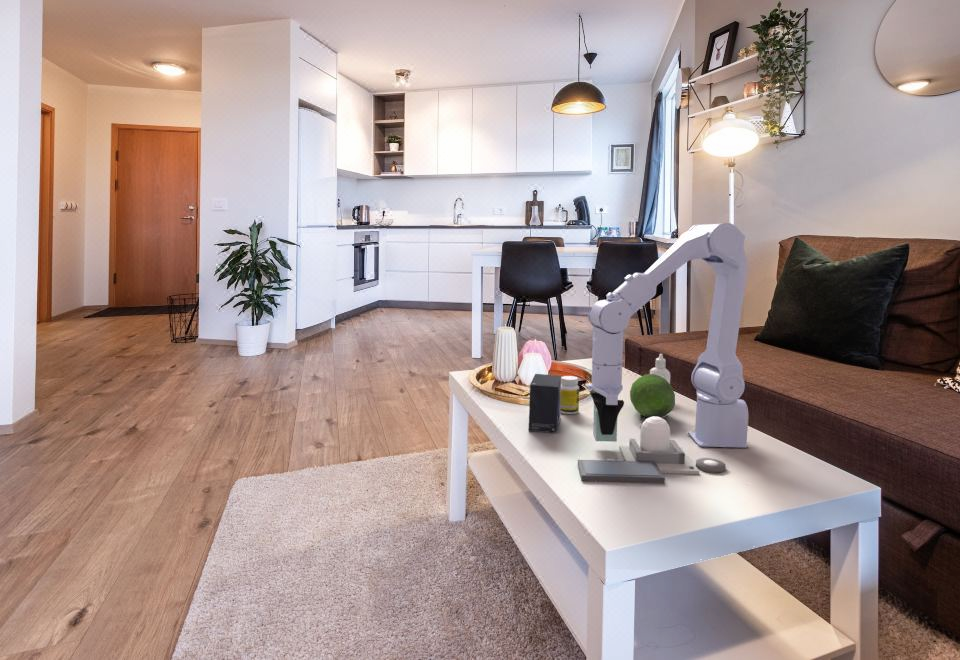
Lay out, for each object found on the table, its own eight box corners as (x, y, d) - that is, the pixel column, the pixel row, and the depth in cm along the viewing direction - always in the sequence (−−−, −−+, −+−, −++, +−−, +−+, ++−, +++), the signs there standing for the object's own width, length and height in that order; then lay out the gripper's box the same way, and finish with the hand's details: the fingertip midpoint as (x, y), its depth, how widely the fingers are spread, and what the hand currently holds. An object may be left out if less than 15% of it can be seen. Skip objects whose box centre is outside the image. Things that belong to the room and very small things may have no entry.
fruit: (625, 404, 143) (626, 365, 141) (666, 406, 141) (668, 366, 140) (632, 424, 128) (634, 380, 126) (678, 426, 126) (681, 382, 125)
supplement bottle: (580, 414, 134) (581, 380, 133) (560, 414, 135) (560, 380, 133) (576, 408, 139) (577, 375, 138) (557, 408, 139) (558, 375, 138)
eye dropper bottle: (652, 402, 144) (654, 356, 142) (647, 396, 150) (649, 351, 148) (670, 402, 144) (672, 356, 142) (664, 396, 150) (666, 351, 148)
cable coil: (719, 462, 106) (720, 457, 106) (729, 473, 101) (729, 468, 101) (692, 461, 106) (692, 457, 106) (700, 472, 101) (700, 467, 101)
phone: (655, 466, 104) (655, 459, 104) (664, 483, 97) (665, 475, 97) (577, 464, 105) (577, 457, 105) (581, 480, 98) (581, 473, 98)
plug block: (613, 434, 114) (614, 402, 113) (616, 441, 110) (617, 408, 109) (593, 434, 115) (593, 402, 114) (595, 441, 111) (596, 408, 110)
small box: (558, 433, 122) (559, 386, 120) (527, 431, 123) (528, 384, 121) (561, 418, 132) (562, 374, 130) (533, 416, 133) (533, 373, 132)
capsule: (667, 453, 110) (669, 413, 109) (669, 464, 105) (672, 422, 104) (639, 451, 112) (640, 411, 110) (639, 461, 107) (641, 420, 105)
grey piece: (681, 450, 112) (681, 438, 112) (699, 474, 101) (699, 460, 100) (619, 448, 113) (619, 436, 112) (630, 472, 102) (630, 459, 101)
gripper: (582, 354, 117) (580, 418, 120) (590, 371, 103) (589, 442, 105) (616, 354, 117) (615, 418, 119) (630, 371, 103) (627, 443, 105)
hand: (605, 430), depth 112 cm, fingers closed on plug block, 4 cm apart
